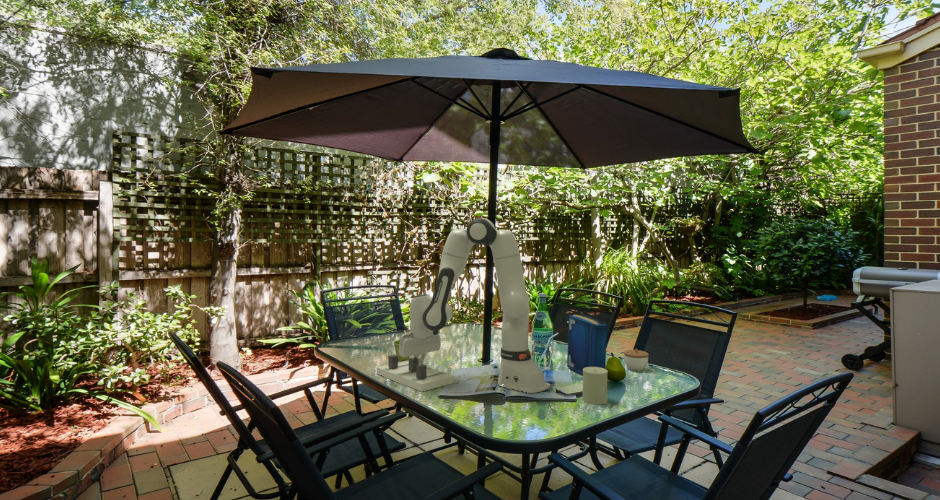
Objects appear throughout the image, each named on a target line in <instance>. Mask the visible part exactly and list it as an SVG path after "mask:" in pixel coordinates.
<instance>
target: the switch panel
mask: <svg viewBox="0 0 940 500" xmlns="http://www.w3.org/2000/svg"><path fill="white" fill-rule="evenodd" d="M419 365H420V364H419ZM376 374H377V375H378V374H379V375H378V376H381V375H382V376H381V377H383V376H384V377H383V378H386V379H388V380H390V381H391V380H392V381H394V382H396V383H399V384H401V385H404V386H406V387H408V388H411V389H413V390H416V391H419V392H421V393H422V392H425V391H429V390H432V389H438V388H441V387H444V386H448V385H452V384H455V375H453V374H450V373H447V372H444V371H441V370H438V369H435V368H432V367H428V366H427V378H423V379H419V378H416V371H415V372H411V371H409V360H407V361H398V368H393V369H392V368H389V367H388V364H387V365H386V364H385V365H382V366H377V367H376Z"/></svg>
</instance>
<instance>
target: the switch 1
mask: <svg viewBox="0 0 940 500" xmlns="http://www.w3.org/2000/svg"><path fill="white" fill-rule="evenodd" d="M387 359H388V362H387V363H388V364H387V365H388V367H389V368H392V369H393V368H398V363H399V361H398V356H396V354H391V355H388V358H387Z"/></svg>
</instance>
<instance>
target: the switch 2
mask: <svg viewBox="0 0 940 500" xmlns="http://www.w3.org/2000/svg"><path fill="white" fill-rule="evenodd" d="M427 367H428V366H427V364H424V363H423V364H420V365H416V378H419V379H423V378H427Z"/></svg>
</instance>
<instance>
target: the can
mask: <svg viewBox="0 0 940 500" xmlns="http://www.w3.org/2000/svg"><path fill="white" fill-rule="evenodd" d="M608 372H609V371H608V370H607V369H606V368H605V369H604V368H600V367H586V368H583V375H582V397H581V400H582V401H583V402H584V403H587V404H589V405H605V404H606V403H608Z"/></svg>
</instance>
